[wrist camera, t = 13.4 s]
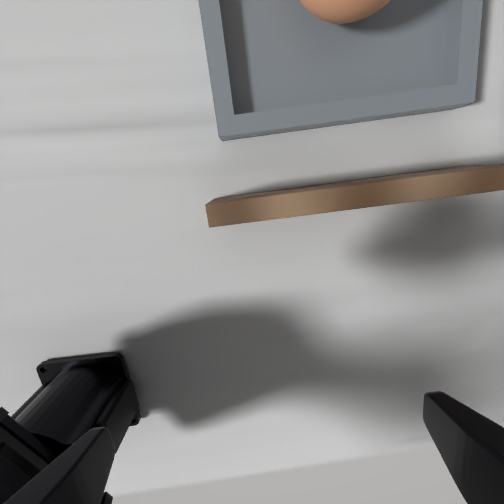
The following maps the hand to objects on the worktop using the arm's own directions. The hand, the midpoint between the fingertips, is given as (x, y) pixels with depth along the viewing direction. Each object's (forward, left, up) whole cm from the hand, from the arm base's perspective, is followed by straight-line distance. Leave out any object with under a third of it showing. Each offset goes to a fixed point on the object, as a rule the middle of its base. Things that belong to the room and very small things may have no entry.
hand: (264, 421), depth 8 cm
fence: (+6, +5, -12) cm, 14 cm away
